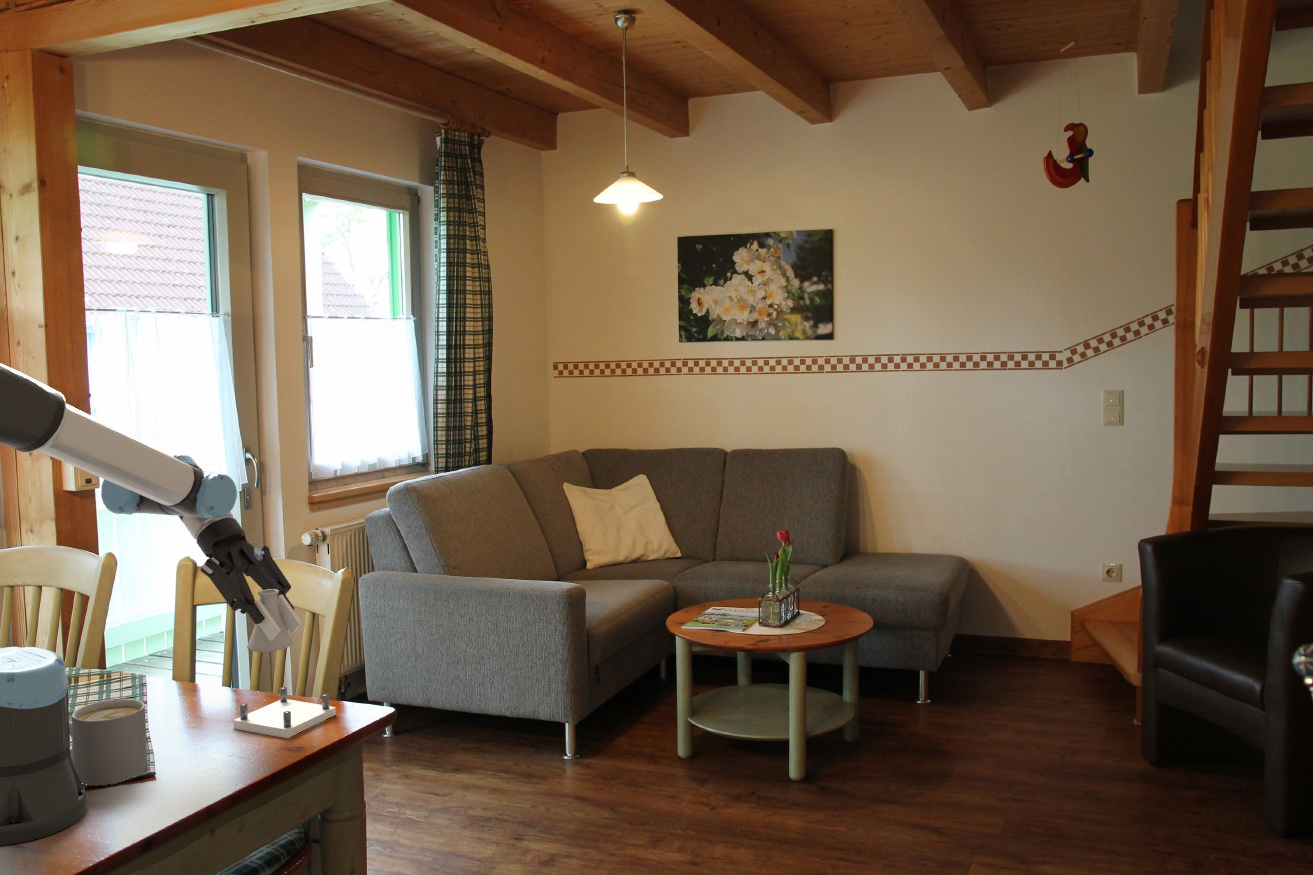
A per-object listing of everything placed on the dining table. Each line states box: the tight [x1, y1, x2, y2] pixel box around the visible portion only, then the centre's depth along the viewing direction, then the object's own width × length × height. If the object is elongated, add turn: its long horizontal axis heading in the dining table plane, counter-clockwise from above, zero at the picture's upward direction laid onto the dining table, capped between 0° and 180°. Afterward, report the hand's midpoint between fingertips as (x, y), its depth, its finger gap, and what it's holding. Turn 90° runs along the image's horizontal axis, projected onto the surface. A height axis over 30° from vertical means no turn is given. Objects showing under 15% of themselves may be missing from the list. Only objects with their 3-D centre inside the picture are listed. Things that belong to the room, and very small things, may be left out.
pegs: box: [239, 686, 330, 728], centre depth 179 cm, size 11×11×2 cm
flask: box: [246, 589, 295, 653], centre depth 176 cm, size 7×7×10 cm
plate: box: [233, 698, 337, 739], centre depth 179 cm, size 12×12×2 cm
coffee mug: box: [69, 698, 148, 787], centre depth 157 cm, size 13×10×10 cm
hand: (286, 631), depth 175 cm, fingers closed on flask, 4 cm apart
